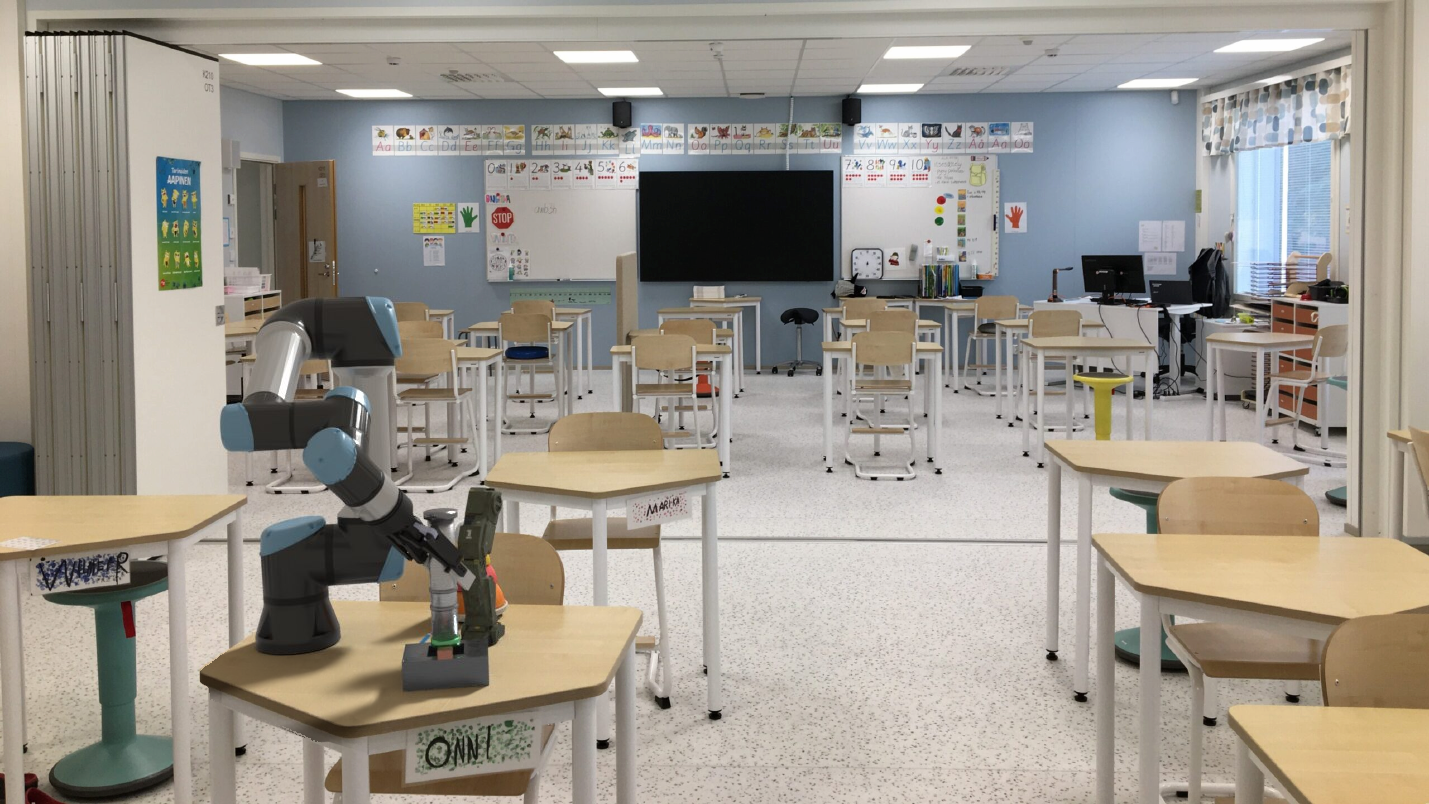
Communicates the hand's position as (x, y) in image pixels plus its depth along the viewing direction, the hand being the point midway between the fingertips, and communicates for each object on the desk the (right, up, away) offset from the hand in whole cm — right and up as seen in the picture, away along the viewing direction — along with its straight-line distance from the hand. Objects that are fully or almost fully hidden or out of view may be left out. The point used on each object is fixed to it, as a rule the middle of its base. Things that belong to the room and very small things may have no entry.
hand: (459, 581), depth 198 cm
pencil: (-11, -15, +15) cm, 24 cm away
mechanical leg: (0, -14, +19) cm, 24 cm away
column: (-2, -11, -2) cm, 11 cm away
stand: (-2, -16, -1) cm, 16 cm away
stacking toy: (-5, -13, +35) cm, 38 cm away
